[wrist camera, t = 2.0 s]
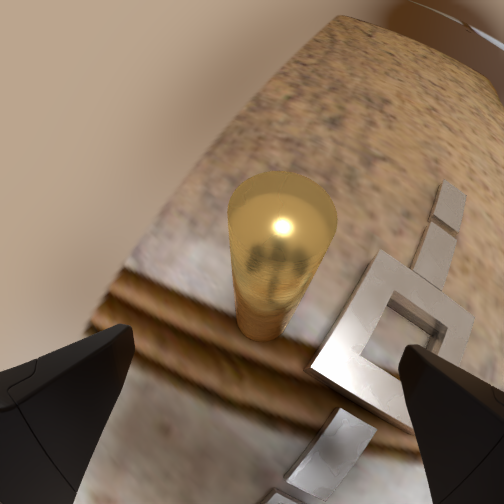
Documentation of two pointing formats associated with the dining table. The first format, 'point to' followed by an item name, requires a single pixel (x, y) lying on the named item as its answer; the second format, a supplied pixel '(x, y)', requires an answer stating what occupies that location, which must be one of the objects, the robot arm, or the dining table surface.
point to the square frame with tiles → (357, 335)
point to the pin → (276, 247)
